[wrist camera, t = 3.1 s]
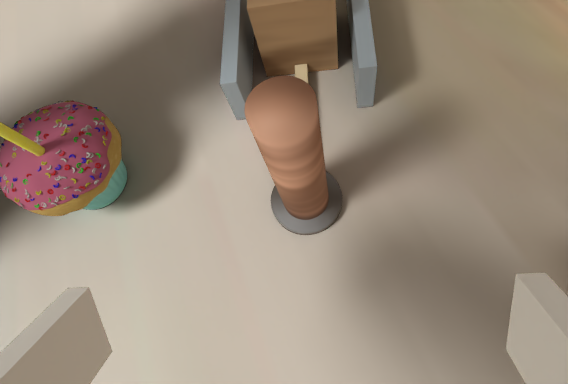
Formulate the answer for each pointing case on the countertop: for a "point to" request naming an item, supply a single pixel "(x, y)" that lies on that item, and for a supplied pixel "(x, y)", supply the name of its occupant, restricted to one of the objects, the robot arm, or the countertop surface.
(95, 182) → the cupcake
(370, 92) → the lane
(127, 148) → the countertop surface
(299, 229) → the tethered block
